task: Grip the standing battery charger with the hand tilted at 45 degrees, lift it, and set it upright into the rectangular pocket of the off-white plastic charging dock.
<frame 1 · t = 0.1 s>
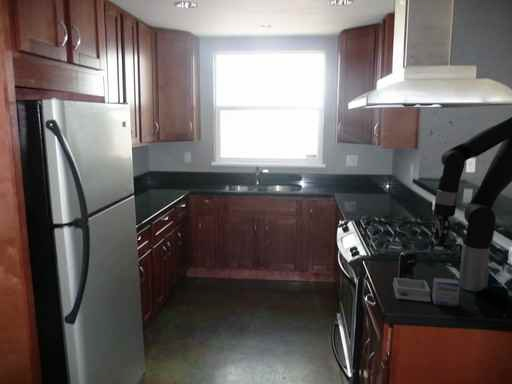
hand: (439, 242, 161), 17 cm above the countertop, tool pointing down, fingers open, 8 cm apart
battery charger: (406, 279, 168), on the countertop
medicine box: (444, 303, 148), on the countertop
charging dock: (410, 292, 156), on the countertop
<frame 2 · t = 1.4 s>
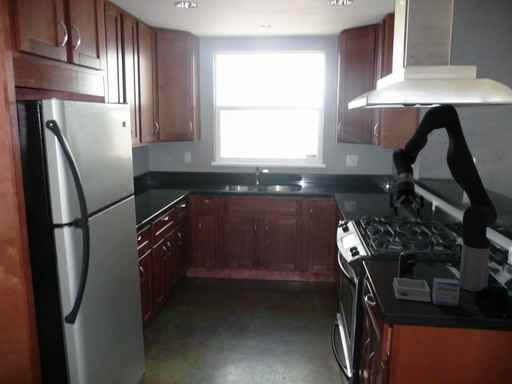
hand: (406, 216, 176), 24 cm above the countertop, tool tilted 45°, fingers open, 8 cm apart
nothing on the countertop moved.
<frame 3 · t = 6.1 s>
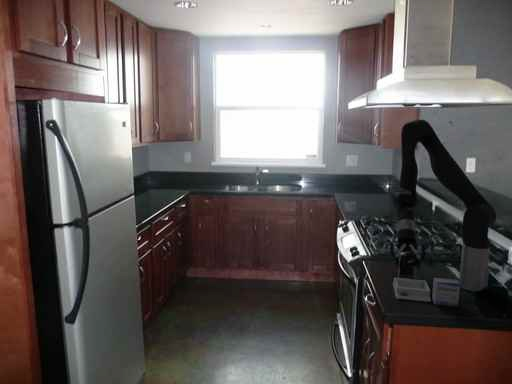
hand: (407, 267, 166), 6 cm above the countertop, tool tilted 45°, fingers closed on battery charger, 7 cm apart
battery charger: (406, 279, 168), on the countertop, touching gripper
everything else where it was.
when the fingers open (8 cm above the countertop, at t = 13.8 s): battery charger drops 1 cm, resting on charging dock.
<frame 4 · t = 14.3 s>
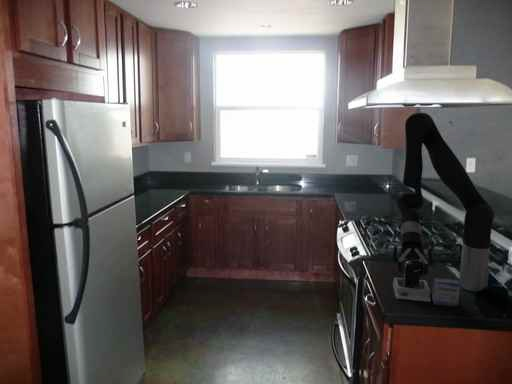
hand: (413, 273, 153), 8 cm above the countertop, tool tilted 45°, fingers open, 8 cm apart
battery charger: (412, 290, 156), point 1 cm above the countertop, touching charging dock
everything else where it was.
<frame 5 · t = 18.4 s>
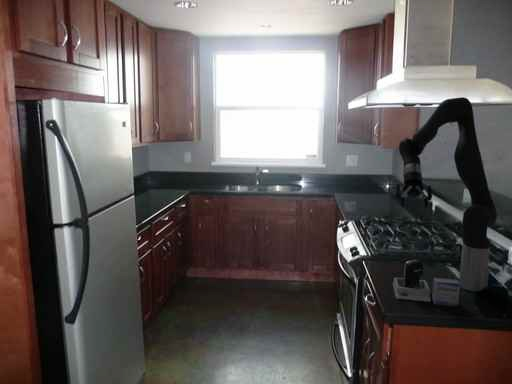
hand: (414, 207, 171), 29 cm above the countertop, tool tilted 45°, fingers open, 8 cm apart
nothing on the countertop moved.
at the end: battery charger 0.5 cm off-centre on the charging dock, point 0.8 cm above the charging dock's base; battery charger tilted 0°; the gripper is holding nothing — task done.
